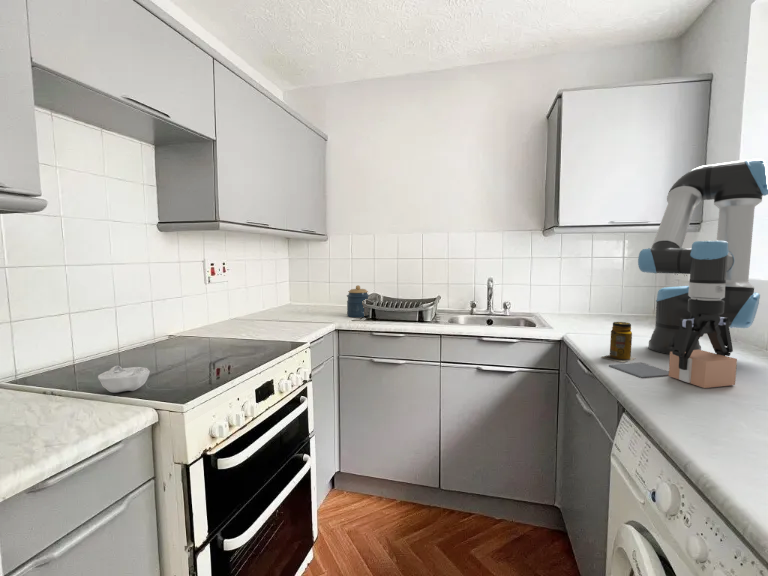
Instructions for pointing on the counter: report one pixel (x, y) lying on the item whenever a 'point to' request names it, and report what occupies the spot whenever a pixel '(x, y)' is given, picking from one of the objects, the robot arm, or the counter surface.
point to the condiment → (620, 342)
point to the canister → (356, 302)
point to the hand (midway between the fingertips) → (700, 379)
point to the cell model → (123, 378)
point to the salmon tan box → (707, 369)
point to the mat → (641, 370)
